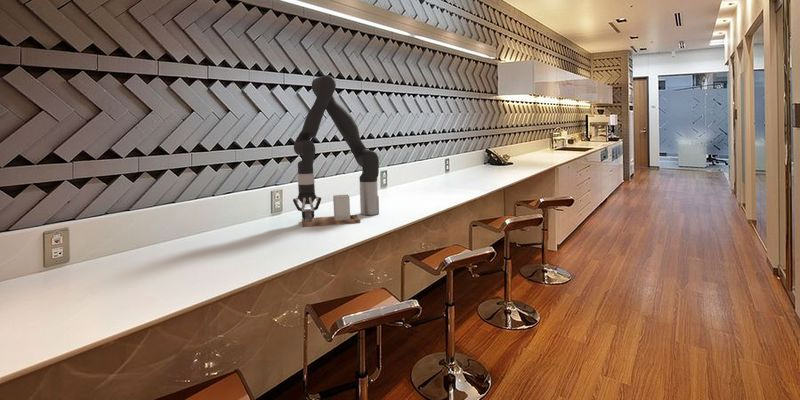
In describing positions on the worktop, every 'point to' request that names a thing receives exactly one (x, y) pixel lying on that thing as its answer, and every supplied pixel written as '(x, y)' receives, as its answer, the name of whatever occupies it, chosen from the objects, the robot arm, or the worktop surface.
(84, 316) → the worktop surface
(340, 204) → the supplement box
